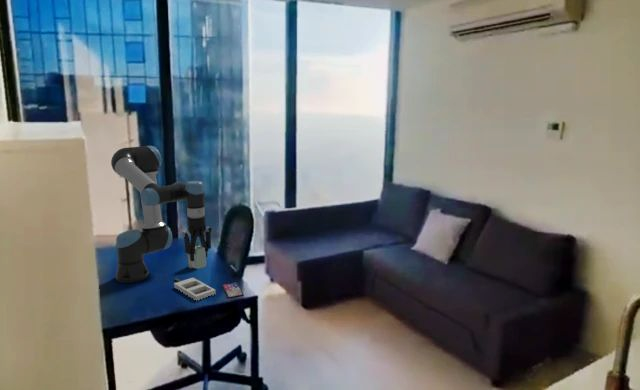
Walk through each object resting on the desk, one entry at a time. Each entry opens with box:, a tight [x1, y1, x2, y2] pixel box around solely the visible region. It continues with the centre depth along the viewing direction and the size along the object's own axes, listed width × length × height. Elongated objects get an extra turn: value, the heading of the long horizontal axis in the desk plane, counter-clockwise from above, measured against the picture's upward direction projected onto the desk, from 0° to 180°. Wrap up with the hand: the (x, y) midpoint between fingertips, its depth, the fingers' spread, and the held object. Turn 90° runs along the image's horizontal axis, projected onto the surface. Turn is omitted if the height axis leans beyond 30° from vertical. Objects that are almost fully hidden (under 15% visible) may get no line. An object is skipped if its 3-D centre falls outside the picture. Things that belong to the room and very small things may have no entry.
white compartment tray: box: [173, 277, 217, 302], centre depth 215 cm, size 28×10×2 cm, turn 45°
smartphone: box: [221, 282, 245, 299], centre depth 213 cm, size 8×1×15 cm
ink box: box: [186, 240, 200, 269], centre depth 240 cm, size 7×4×13 cm, turn 120°
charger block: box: [194, 245, 207, 270], centre depth 204 cm, size 4×4×9 cm
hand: (199, 265), depth 205 cm, fingers closed on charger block, 4 cm apart
